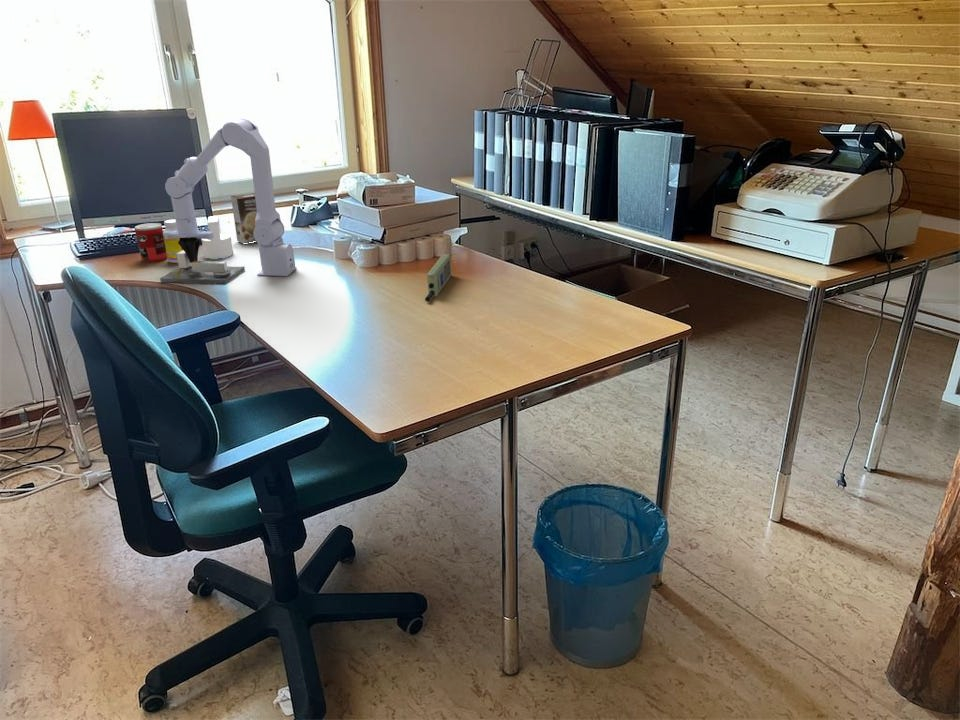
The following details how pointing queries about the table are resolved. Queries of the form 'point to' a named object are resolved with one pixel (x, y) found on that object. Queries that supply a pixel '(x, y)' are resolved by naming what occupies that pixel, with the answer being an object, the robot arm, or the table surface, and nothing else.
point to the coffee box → (244, 216)
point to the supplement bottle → (172, 242)
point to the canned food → (151, 242)
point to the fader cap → (183, 260)
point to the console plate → (200, 276)
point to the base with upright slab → (217, 241)
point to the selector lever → (211, 267)
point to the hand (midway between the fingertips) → (193, 262)
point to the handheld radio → (438, 276)
